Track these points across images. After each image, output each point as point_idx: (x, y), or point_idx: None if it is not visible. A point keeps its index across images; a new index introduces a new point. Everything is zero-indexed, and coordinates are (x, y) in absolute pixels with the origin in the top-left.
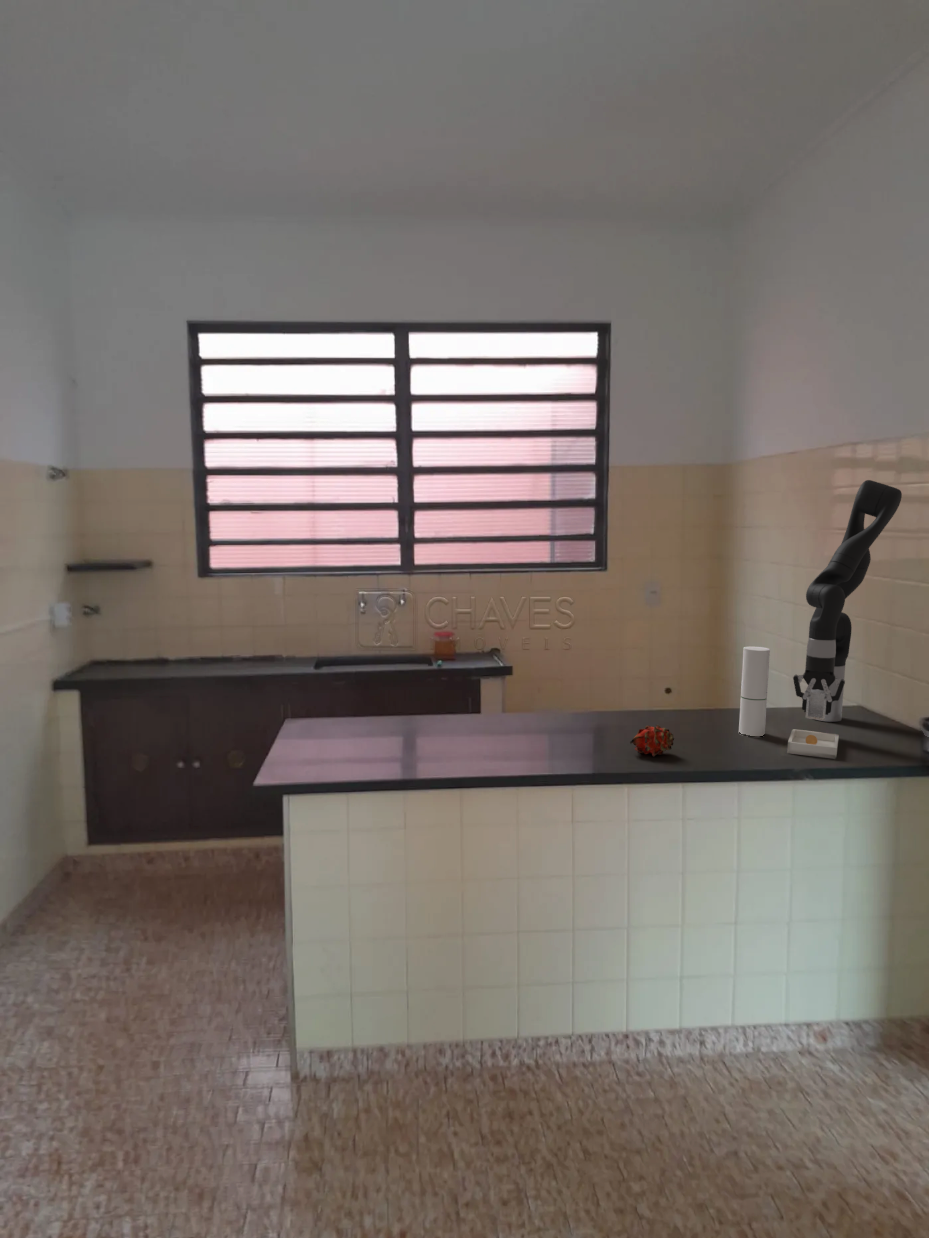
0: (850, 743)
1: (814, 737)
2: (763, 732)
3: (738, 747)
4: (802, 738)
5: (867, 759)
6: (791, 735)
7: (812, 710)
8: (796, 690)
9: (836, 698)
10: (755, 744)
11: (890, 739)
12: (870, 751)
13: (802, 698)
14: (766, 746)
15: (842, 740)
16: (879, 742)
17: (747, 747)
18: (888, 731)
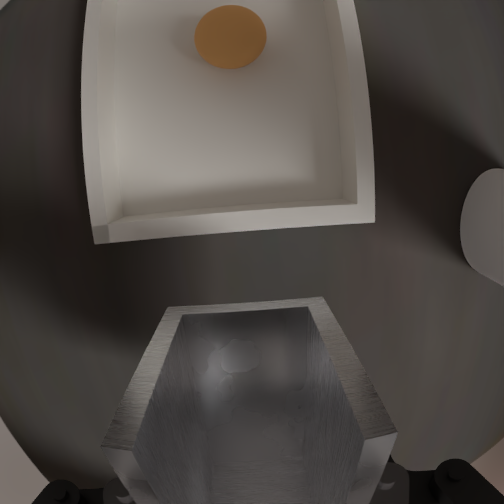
0: (83, 293)
1: (209, 15)
2: (475, 206)
3: (482, 2)
4: (299, 187)
5: (9, 68)
6: (356, 50)
7: (286, 459)
8: (487, 494)
9: (58, 495)
10: (461, 51)
11: (24, 402)
12: (3, 201)
13: (399, 469)
14: (423, 32)
15: (123, 328)
16: (24, 357)
17: (464, 6)
18: (69, 470)
